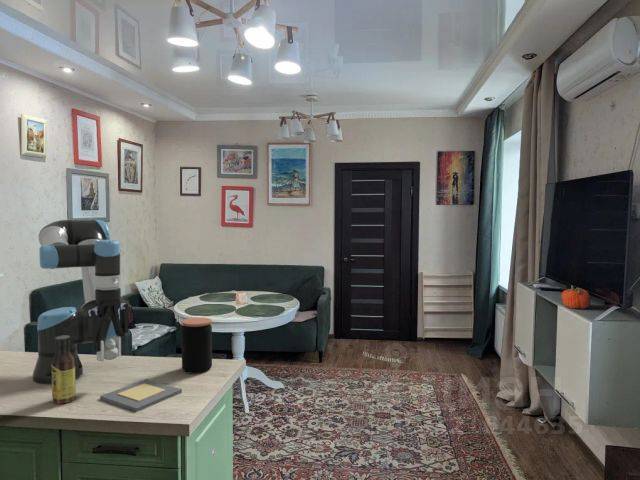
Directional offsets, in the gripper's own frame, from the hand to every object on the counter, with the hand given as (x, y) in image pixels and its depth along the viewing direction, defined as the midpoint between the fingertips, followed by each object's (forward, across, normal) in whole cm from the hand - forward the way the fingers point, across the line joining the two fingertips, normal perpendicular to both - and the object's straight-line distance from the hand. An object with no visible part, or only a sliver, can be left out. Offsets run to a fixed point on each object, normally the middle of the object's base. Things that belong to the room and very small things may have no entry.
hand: (109, 357), depth 152 cm
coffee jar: (+10, +28, -11) cm, 32 cm away
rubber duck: (+1, 0, 0) cm, 1 cm away
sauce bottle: (+10, -14, +2) cm, 17 cm away
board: (+10, +1, -15) cm, 18 cm away
